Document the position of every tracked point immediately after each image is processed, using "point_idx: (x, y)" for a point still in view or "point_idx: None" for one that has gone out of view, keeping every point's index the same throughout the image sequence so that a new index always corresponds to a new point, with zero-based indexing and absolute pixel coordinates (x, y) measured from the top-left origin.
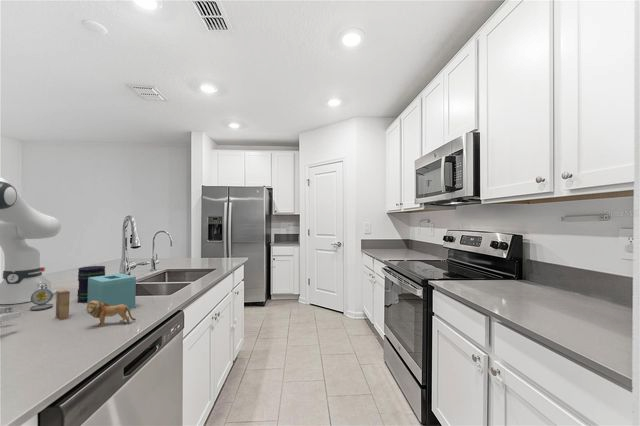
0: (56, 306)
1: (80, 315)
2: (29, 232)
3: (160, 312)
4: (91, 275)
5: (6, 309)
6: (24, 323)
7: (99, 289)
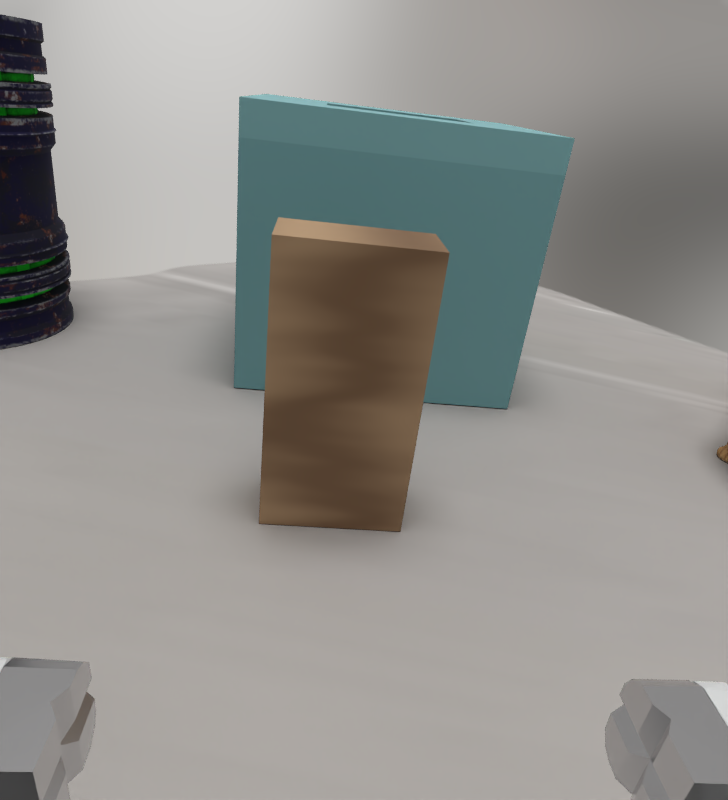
0: (279, 418)
1: None
2: None
3: (645, 332)
4: (20, 90)
5: (44, 787)
6: (174, 746)
7: (507, 211)
